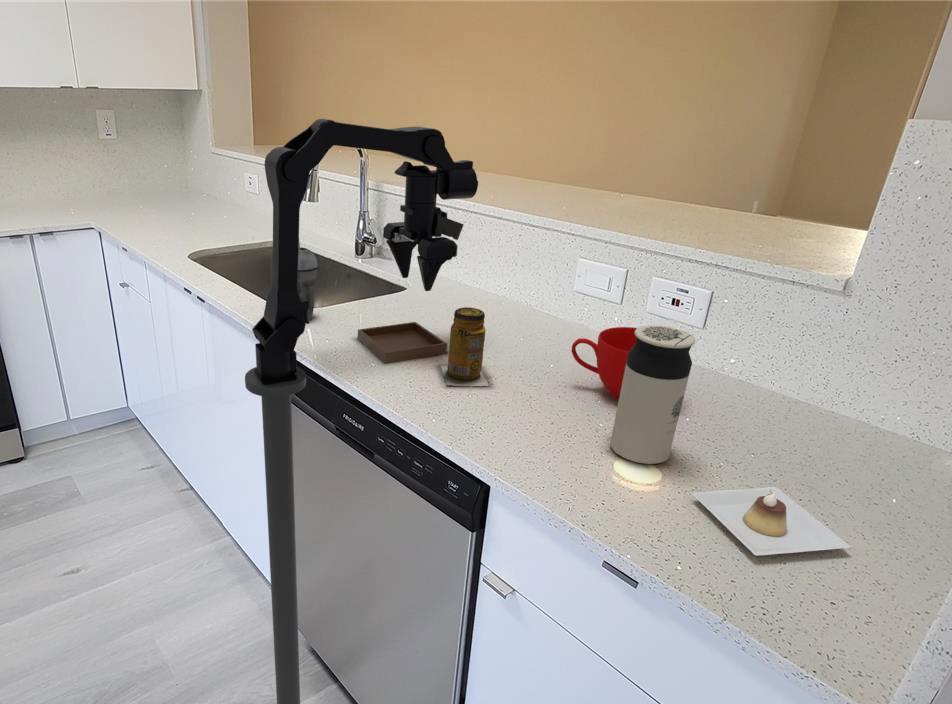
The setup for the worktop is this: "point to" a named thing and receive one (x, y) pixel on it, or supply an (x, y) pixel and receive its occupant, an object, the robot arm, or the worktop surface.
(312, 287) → the beverage cup
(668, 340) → the travel mug
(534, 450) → the worktop surface
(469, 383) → the condiment
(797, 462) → the worktop surface
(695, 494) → the dessert
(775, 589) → the worktop surface
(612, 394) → the ceramic cup
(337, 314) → the worktop surface
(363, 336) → the tray
